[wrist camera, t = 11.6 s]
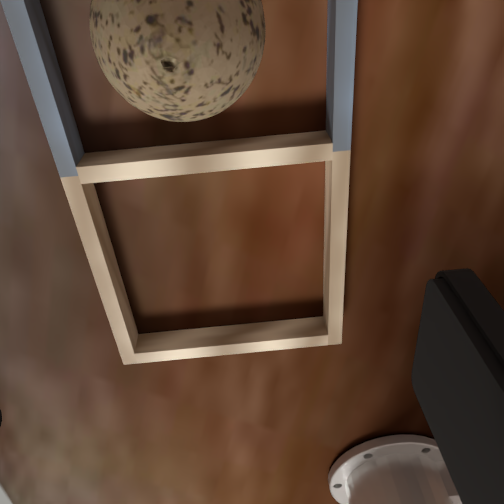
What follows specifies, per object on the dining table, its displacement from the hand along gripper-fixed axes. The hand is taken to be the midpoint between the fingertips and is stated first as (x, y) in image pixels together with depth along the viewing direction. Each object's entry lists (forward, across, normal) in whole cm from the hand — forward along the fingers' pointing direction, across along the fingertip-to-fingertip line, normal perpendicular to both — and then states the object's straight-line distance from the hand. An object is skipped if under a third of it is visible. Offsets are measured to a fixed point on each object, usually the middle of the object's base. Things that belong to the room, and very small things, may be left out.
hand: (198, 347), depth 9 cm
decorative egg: (+19, +1, -4) cm, 20 cm away
